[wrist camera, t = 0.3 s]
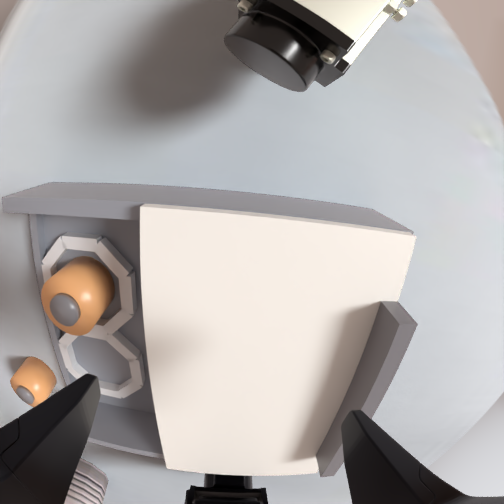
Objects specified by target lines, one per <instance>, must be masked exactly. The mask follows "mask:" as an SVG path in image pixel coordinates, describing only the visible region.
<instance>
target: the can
mask: <svg viewBox="0 0 504 504" xmlns="http://www.w3.org/2000/svg"><path fill="white" fill-rule="evenodd" d="M107 484H108V479H107V476H106V474H105V473H104V472H102V471H101V470H100V469H98V468H97V467H96V466H94V465H93V464H92V463H90V462H88V461H86V460H83V459H81V458H80V460H79V463H78V466H77V468H76V471H75V474H74V477H73V479H72V482H71V485H70V488H69V491H68V494H67V497H66V500H65V503H64V504H102V503H103V499H104V495H105V492H106V488H107Z"/></svg>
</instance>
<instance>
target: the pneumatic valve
mask: <svg viewBox="0 0 504 504" xmlns="http://www.w3.org/2000/svg"><path fill="white" fill-rule="evenodd" d="M401 1H402V0H239V4H238V5H237V7H238V9H239V20H238V21H237V22H236V24H235V25H234V26H233V27H232V28H231V29H230V30H229V32H228V33H227V34H226V35H225V37H224V42H225V45H226V46H227V48H228V49H229V50H230V51H231V52H232V53H233V54H234V55H235V56H236V57H237V58H238V59H239V60H240V61H242V62H243V63H244V64H245V65H247V66H248V67H250V68H251V69H252V70H254V71H255V72H257V73H258V74H260V75H262V76H263V77H265V78H267V79H268V80H270V81H272V82H274V83H276V84H278V85H280V86H282V87H284V88H287V89H289V90H292V91H297V92H304V91H306V90H307V89H308V87H309V86H310V85H311V84H312V82H313V81H314V80H315V81H317V82H318V83H320V84H321V85H322V86H324V87H326V86H327V85H329V84H330V83H332V82H333V81H335V80H336V79H338V78H339V77H341V76H343V75H344V74H345V72H346V71H347V70H348V69H349V67H350V66H351V65H352V63H353V62H354V61H355V59H356V58H357V57H358V55H359V54H360V53H361V52H362V50H363V49H364V48H365V46H366V45H367V44H368V43H369V41H370V40H371V39H372V37H373V36H374V35H375V34H376V32H377V31H378V30H379V29H380V27H381V26H382V25H383V24H384V22H385V21H386V20H387V19H388V17H389V16H390V15H391V14H392V13H393V16H392V17H391V18H392V19H393V20H394V21H396V22H399V21H400V20H402V19H403V18H404V17H405V16H406V14H407V11H406V10H405V9H404V8H403V7H402V8H400V9H397V7H398V5H399V4H400V2H401ZM416 1H417V0H405V1H404V2H403V4H404V5H406V6H407V7H411V6H412V5H413V4H414V3H415V2H416Z"/></svg>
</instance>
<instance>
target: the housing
mask: <svg viewBox="0 0 504 504" xmlns="http://www.w3.org/2000/svg"><path fill="white" fill-rule="evenodd" d="M2 204H3V212H6V213H26V214H29V220H30V231H31V240H32V249H33V256H34V263H35V269H36V275H37V281H38V286H39V291H40V296H41V292H42V288H43V285H44V284H45V282H46V281H47V280H48V279H50V278H51V277H52V276H53V275H54V274H56V273H57V272H58V271H59V270H60V269H62V268H63V267H64V266H65V265H67V264H68V263H69V262H70V261H72V260H73V259H74V258H76V257H79V256H88V257H92V258H94V259H96V260H98V261H99V262H101V263H102V264H103V265H104V266H105V267H106V268H107V269H108V271H109V272H110V274H111V276H112V278H113V281H114V286H115V294H114V298H113V300H112V302H111V303H110V305H109V306H108V307H107V309H106V310H105V311H104V313H103V314H102V316H101V317H100V318H99V320H98V321H97V323H96V324H95V326H94V327H93V328H92V330H91V331H90V332H89V333H87V334H85V335H81V336H76V335H71V334H68V333H66V332H64V331H62V330H61V329H59V328H58V327H57V326H56V325H55V324H54V323H53V322H52V321H51V320H50V319H49V317H48V316H47V314H46V312H45V310H44V314H45V318H46V322H47V326H48V329H49V333H50V337H51V340H52V343H53V347H54V350H55V353H56V356H57V360H58V363H59V366H60V369H61V371H62V374H63V377H64V380H65V383H66V385H67V386H68V385H69V384H71V383H72V382H74V381H75V380H77V379H78V378H80V377H81V376H83V375H84V374H87V373H89V374H92V375H95V376H97V377H98V379H99V385H100V391H101V396H100V400H99V403H98V407H97V410H96V414H95V418H94V421H93V425H92V429H91V432H90V435H89V437H88V440H87V441H88V442H92V443H95V444H99V445H102V446H106V447H110V448H113V449H117V450H122V451H126V452H130V453H135V454H140V455H145V456H150V457H155V458H161V459H165V458H164V454H163V449H162V445H161V440H160V435H159V430H158V425H157V419H156V414H155V408H154V402H153V396H152V389H151V382H150V375H149V367H148V359H147V351H146V341H145V331H144V319H143V306H142V290H141V267H140V206H142V205H144V204H160V205H174V206H187V207H199V208H211V209H222V210H233V211H244V212H254V213H264V214H273V215H282V216H291V217H300V218H308V219H317V220H325V221H333V222H340V223H348V224H355V225H363V226H370V227H377V228H384V229H391V230H397V231H404V232H410V233H411V234H413V231H411V230H409V229H408V228H406V227H404V226H402V225H401V224H399V223H397V222H395V221H393V220H392V219H390V218H388V217H386V216H384V215H383V214H381V213H379V212H377V211H375V210H373V209H369V208H363V207H357V206H350V205H344V204H337V203H330V202H323V201H315V200H308V199H300V198H292V197H284V196H275V195H267V194H257V193H248V192H238V191H227V190H216V189H204V188H191V187H176V186H160V185H141V184H117V183H66V182H51V183H47V184H43V185H40V186H36V187H33V188H30V189H26V190H23V191H20V192H17V193H14V194H11V195H8V196H5V197H2ZM41 301H42V299H41ZM42 305H43V304H42ZM43 309H44V307H43Z"/></svg>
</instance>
